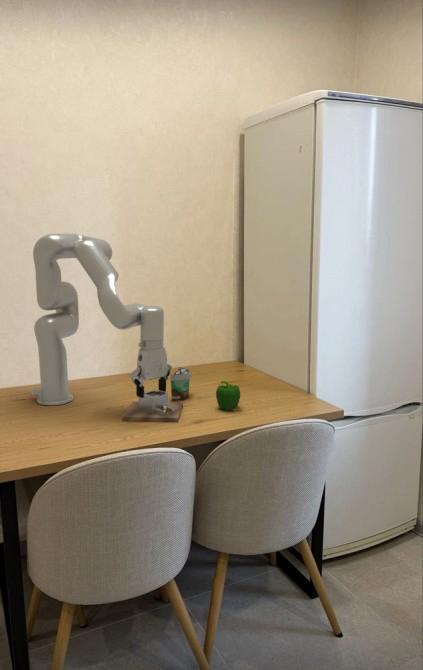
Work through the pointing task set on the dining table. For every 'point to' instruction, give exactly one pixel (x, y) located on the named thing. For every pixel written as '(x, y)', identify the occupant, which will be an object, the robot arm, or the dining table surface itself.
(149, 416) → the post board
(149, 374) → the robot arm
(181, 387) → the food container
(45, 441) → the dining table surface
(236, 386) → the bell pepper
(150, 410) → the bracket
